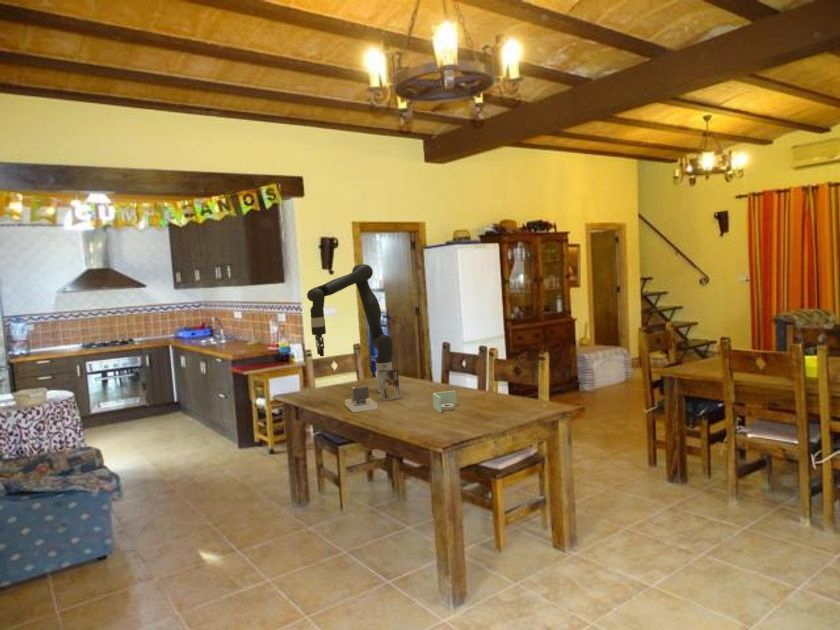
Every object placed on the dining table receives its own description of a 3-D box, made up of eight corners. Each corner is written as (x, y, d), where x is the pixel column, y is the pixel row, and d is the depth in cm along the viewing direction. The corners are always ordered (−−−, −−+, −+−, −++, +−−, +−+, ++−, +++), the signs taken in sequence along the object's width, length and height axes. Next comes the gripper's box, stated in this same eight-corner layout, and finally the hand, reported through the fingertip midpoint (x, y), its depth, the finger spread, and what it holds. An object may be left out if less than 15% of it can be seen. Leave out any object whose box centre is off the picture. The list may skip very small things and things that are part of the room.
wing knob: (367, 399, 316) (366, 384, 315) (369, 401, 311) (368, 386, 311) (352, 401, 314) (351, 386, 313) (354, 403, 309) (353, 388, 308)
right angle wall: (440, 413, 293) (439, 397, 292) (433, 407, 304) (432, 393, 304) (463, 410, 296) (462, 395, 295) (456, 404, 307) (455, 390, 307)
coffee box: (396, 396, 334) (394, 368, 333) (400, 398, 328) (398, 369, 327) (380, 398, 331) (378, 370, 329) (384, 401, 325) (382, 371, 323)
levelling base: (368, 402, 324) (368, 392, 324) (377, 409, 307) (376, 398, 307) (345, 405, 320) (344, 395, 320) (352, 412, 303) (352, 401, 303)
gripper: (327, 326, 319) (329, 356, 320) (323, 323, 332) (325, 352, 334) (313, 327, 316) (315, 357, 318) (309, 325, 330) (312, 354, 331)
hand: (320, 355), depth 326 cm, fingers open, 8 cm apart
